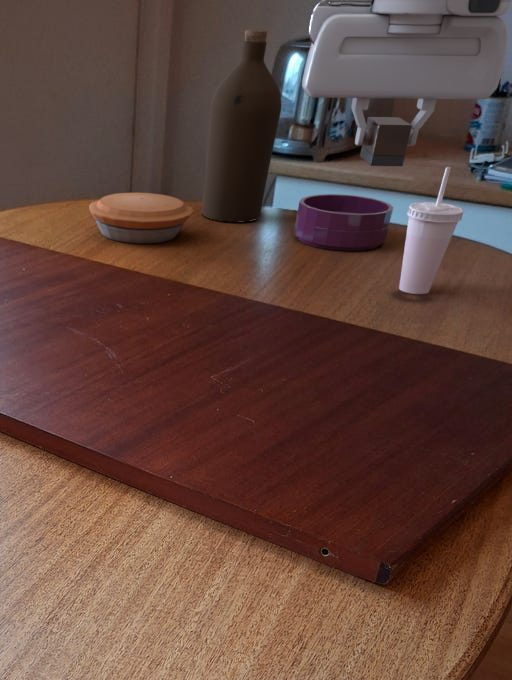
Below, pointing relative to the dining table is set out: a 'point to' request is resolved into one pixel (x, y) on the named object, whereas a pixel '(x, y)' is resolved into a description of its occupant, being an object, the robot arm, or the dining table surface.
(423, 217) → the smoothie
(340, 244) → the bowl
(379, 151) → the eraser
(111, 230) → the pie
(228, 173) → the olive oil
